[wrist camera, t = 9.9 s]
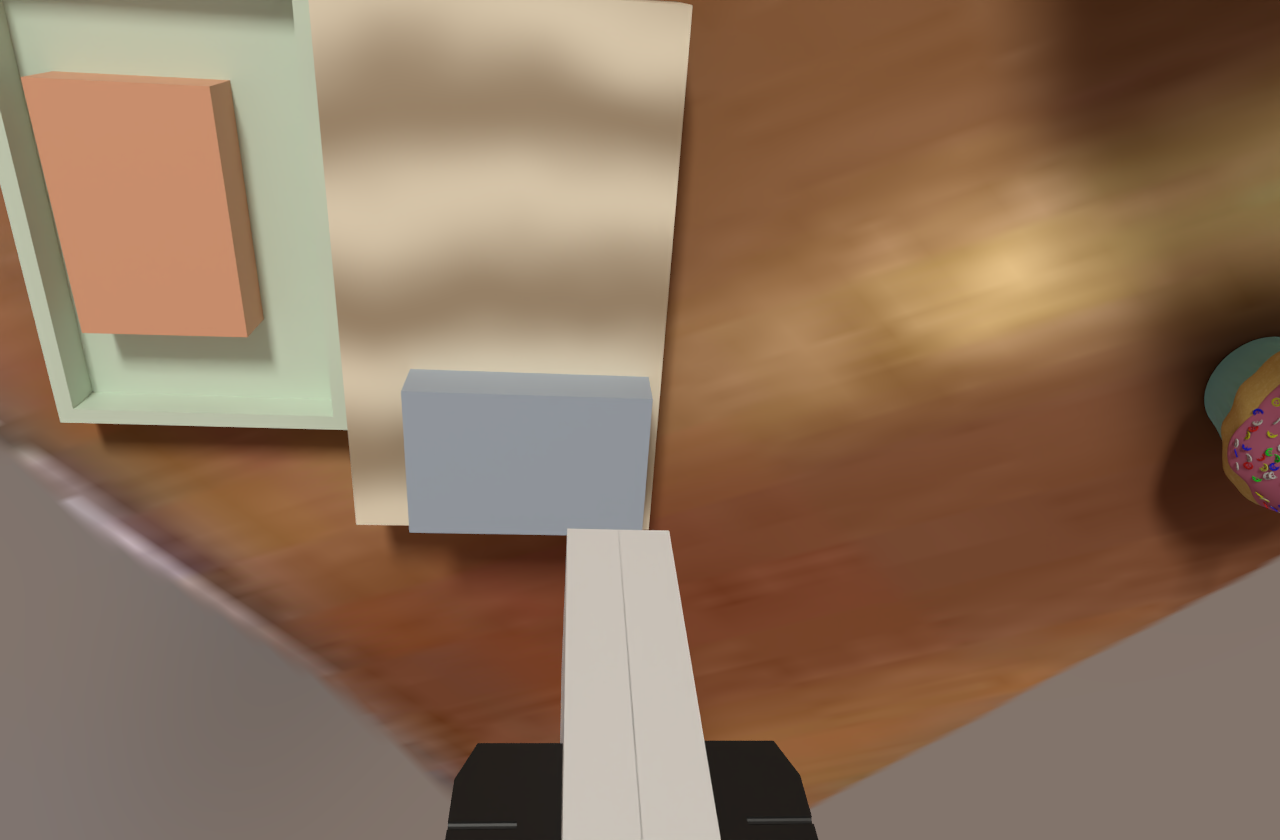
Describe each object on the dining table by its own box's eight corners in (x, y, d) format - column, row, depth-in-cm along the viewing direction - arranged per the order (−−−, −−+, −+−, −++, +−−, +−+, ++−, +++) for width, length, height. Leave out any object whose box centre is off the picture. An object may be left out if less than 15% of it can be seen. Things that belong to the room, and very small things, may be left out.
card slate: (417, 505, 36) (409, 532, 34) (410, 368, 33) (401, 391, 31) (638, 509, 37) (641, 536, 35) (648, 376, 34) (652, 399, 32)
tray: (-22, -69, 29) (-65, -72, 27) (323, -43, 30) (306, -45, 28) (87, 398, 37) (60, 422, 35) (360, 406, 38) (349, 430, 36)
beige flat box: (337, -23, 31) (306, -23, 27) (679, 2, 32) (692, 5, 28) (375, 475, 40) (356, 524, 36) (641, 481, 41) (648, 529, 37)
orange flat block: (209, 86, 30) (229, 79, 31) (20, 76, 29) (52, 71, 31) (247, 337, 34) (264, 319, 35) (81, 332, 33) (107, 314, 35)
